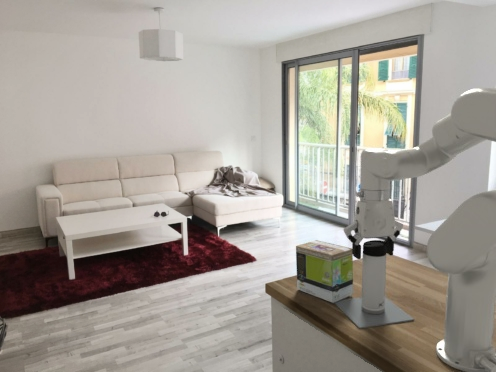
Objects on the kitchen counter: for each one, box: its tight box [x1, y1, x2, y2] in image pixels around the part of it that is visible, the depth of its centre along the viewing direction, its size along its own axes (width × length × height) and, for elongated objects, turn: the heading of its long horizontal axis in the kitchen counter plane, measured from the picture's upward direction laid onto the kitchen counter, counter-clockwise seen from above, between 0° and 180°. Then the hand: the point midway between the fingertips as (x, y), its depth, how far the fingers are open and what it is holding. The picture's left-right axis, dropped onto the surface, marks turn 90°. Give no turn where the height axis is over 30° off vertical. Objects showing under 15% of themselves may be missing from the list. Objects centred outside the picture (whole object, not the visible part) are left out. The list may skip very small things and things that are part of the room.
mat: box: [333, 296, 415, 330], centre depth 117 cm, size 16×16×1 cm
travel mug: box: [361, 239, 388, 315], centre depth 115 cm, size 6×7×20 cm
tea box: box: [295, 239, 354, 304], centre depth 128 cm, size 15×10×15 cm, turn 38°
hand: (373, 255), depth 114 cm, fingers open, 9 cm apart
